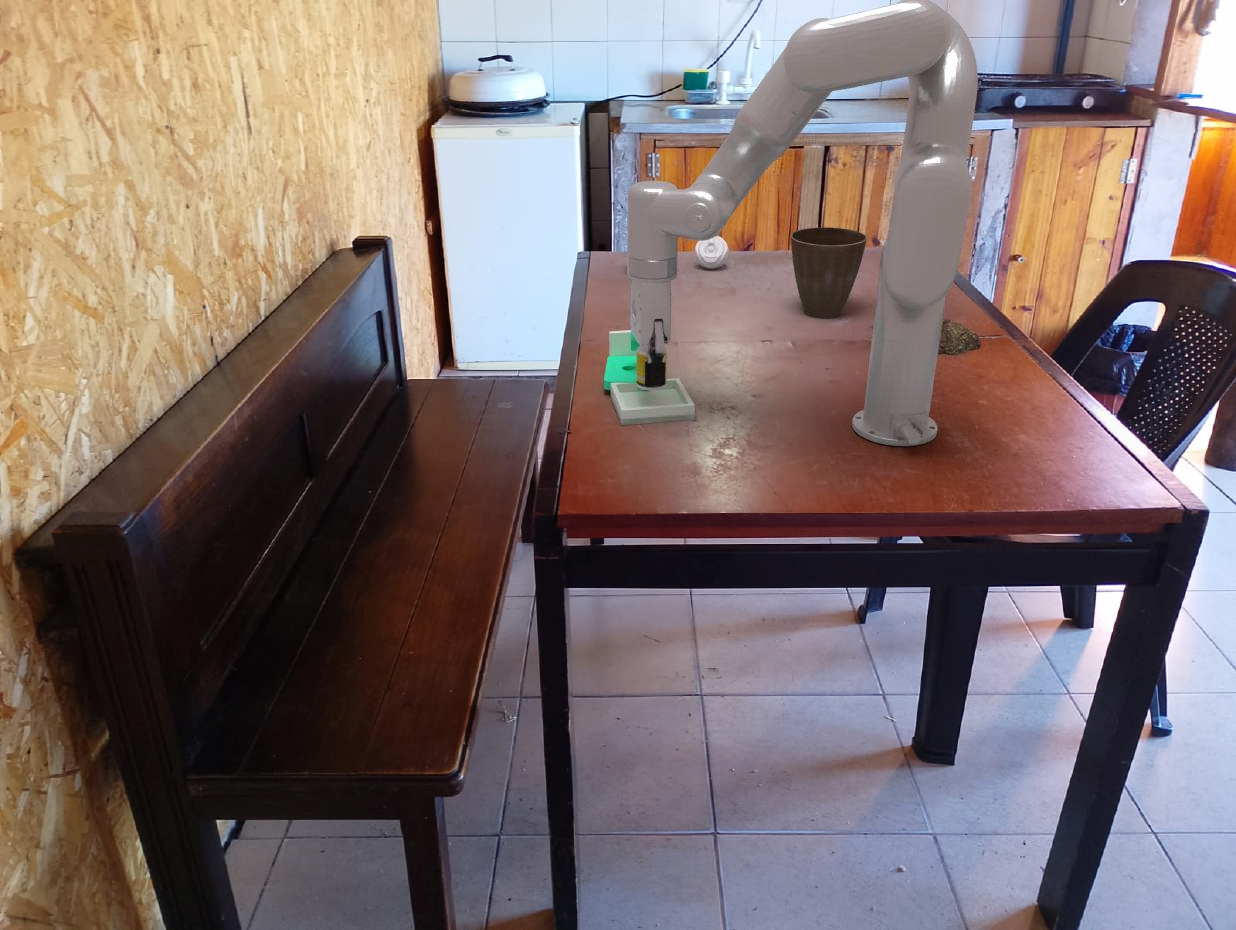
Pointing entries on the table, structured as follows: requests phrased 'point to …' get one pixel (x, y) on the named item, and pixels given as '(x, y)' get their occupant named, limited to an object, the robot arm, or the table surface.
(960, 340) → the rock
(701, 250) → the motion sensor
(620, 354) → the rear label tag
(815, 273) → the plant pot
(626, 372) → the camera mount
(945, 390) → the table surface
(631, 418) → the tray
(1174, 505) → the table surface
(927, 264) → the robot arm
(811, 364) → the table surface
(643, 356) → the supplement bottle
